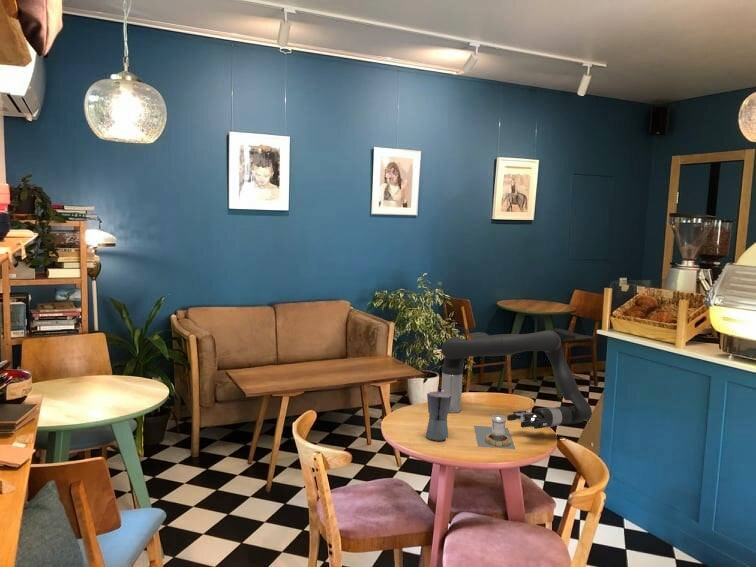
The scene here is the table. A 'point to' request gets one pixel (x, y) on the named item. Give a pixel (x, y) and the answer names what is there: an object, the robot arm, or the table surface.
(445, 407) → the moka pot
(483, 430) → the mat
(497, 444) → the ring collar
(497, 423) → the silver metal cylinder
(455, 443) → the table surface
